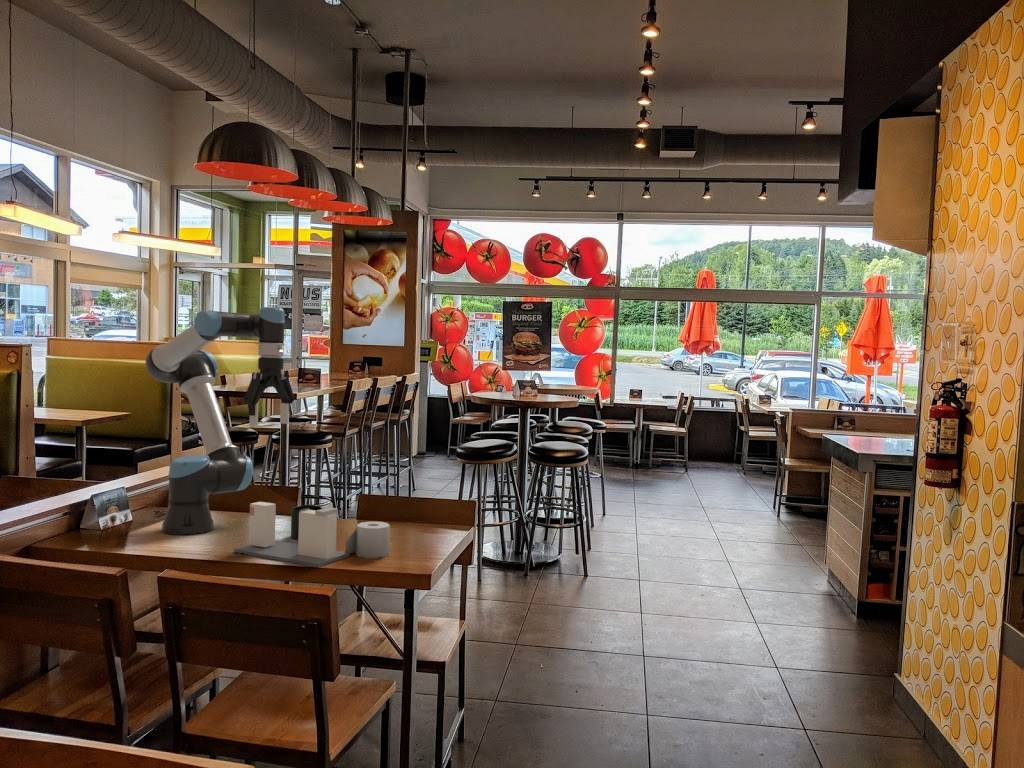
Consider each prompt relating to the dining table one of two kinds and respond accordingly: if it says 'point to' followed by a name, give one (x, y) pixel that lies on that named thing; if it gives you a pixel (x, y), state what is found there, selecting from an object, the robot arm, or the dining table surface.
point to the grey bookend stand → (306, 541)
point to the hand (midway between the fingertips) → (269, 425)
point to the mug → (296, 519)
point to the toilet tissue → (369, 540)
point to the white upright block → (262, 524)
